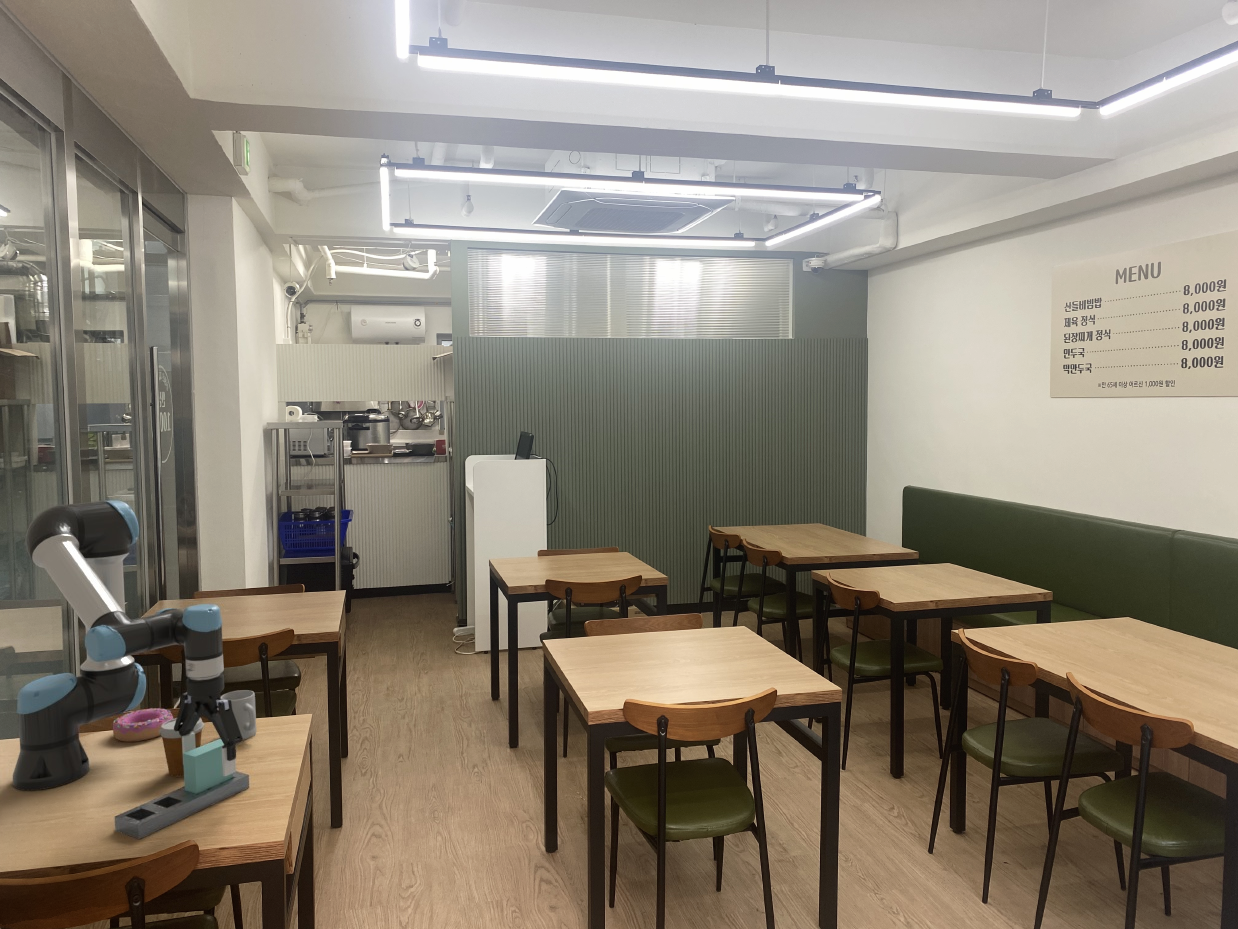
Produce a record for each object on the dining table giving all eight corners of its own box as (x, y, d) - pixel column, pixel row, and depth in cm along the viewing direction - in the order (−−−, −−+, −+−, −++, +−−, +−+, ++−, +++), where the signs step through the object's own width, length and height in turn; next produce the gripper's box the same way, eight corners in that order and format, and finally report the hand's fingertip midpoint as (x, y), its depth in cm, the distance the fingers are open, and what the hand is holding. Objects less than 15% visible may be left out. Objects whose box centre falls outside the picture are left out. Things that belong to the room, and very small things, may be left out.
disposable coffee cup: (187, 781, 195) (184, 731, 194) (152, 778, 197) (149, 728, 196) (214, 764, 204) (212, 716, 203) (180, 761, 206) (178, 714, 205)
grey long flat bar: (115, 830, 172) (114, 816, 172) (226, 780, 195) (225, 768, 195) (139, 839, 168) (138, 825, 168) (249, 787, 191) (248, 774, 191)
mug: (215, 736, 222) (213, 696, 221) (246, 727, 229) (244, 687, 228) (238, 747, 215) (236, 705, 214) (269, 736, 222) (268, 696, 221)
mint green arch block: (185, 802, 184) (183, 753, 183) (222, 785, 192) (220, 738, 191) (197, 805, 182) (194, 756, 181) (233, 788, 190) (231, 741, 189)
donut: (185, 727, 230) (184, 709, 229) (139, 747, 216) (138, 728, 216) (147, 721, 235) (146, 704, 235) (100, 740, 222) (99, 721, 221)
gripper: (153, 672, 188) (158, 764, 189) (227, 688, 176) (231, 785, 177) (184, 663, 194) (188, 752, 196) (257, 677, 183) (261, 772, 184)
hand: (209, 768), depth 186 cm, fingers open, 13 cm apart
